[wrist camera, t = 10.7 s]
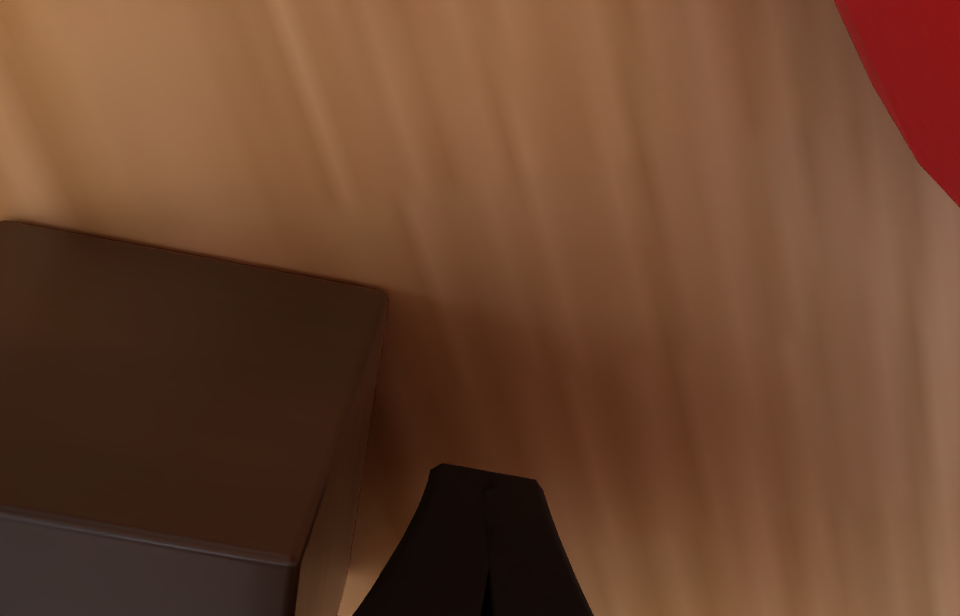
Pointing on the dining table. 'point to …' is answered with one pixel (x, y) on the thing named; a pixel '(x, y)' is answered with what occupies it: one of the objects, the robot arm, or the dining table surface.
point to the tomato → (915, 75)
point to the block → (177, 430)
